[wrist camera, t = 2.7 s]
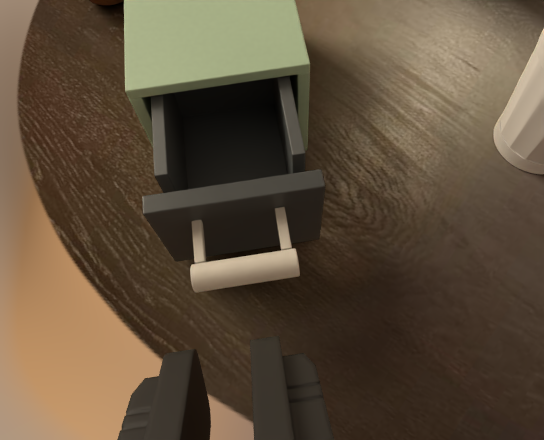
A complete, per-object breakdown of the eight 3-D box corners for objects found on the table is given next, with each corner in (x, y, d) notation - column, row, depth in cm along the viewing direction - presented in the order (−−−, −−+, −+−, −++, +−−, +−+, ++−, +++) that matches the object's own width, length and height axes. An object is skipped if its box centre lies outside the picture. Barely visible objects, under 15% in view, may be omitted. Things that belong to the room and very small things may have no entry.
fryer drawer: (331, 297, 32) (341, 257, 24) (178, 321, 31) (144, 287, 24) (291, 102, 39) (289, 27, 32) (166, 120, 39) (137, 49, 31)
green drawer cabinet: (307, 150, 38) (310, 63, 29) (164, 171, 37) (124, 91, 29) (281, 29, 44) (277, -74, 35) (157, 47, 43) (122, -52, 35)
